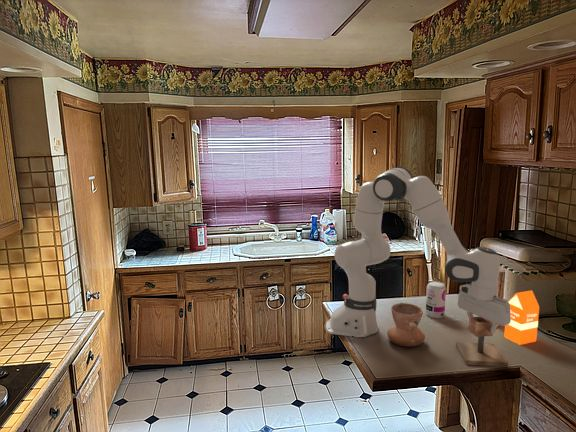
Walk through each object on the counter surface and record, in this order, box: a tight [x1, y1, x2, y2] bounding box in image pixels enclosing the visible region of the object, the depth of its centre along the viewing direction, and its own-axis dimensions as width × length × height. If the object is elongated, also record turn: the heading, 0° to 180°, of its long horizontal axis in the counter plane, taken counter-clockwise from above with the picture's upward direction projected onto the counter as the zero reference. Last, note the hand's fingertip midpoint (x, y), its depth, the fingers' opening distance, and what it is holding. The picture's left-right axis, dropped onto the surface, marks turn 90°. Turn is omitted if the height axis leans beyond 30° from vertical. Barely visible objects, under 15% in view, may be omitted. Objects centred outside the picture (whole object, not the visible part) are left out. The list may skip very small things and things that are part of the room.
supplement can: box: [425, 281, 447, 319], centre depth 194 cm, size 8×8×15 cm
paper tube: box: [491, 266, 506, 327], centre depth 183 cm, size 7×7×25 cm
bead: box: [467, 316, 494, 338], centre depth 156 cm, size 6×6×5 cm
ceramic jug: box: [386, 302, 426, 348], centre depth 169 cm, size 18×14×14 cm
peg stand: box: [455, 336, 508, 367], centre depth 157 cm, size 14×14×12 cm
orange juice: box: [503, 289, 540, 346], centre depth 169 cm, size 8×9×20 cm
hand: (481, 327), depth 156 cm, fingers closed on bead, 7 cm apart
